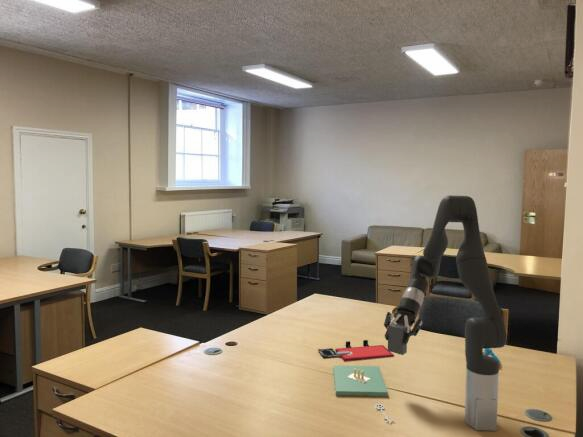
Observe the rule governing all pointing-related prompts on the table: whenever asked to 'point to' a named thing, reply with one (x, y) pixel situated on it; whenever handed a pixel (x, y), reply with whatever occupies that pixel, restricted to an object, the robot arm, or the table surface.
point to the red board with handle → (357, 352)
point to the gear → (490, 353)
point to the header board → (359, 380)
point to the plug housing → (396, 339)
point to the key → (382, 410)
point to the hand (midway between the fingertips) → (394, 341)
